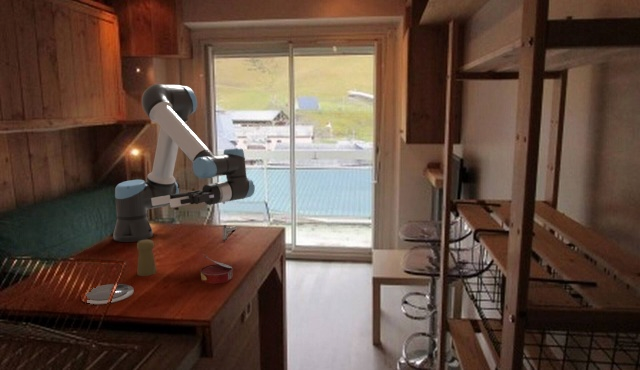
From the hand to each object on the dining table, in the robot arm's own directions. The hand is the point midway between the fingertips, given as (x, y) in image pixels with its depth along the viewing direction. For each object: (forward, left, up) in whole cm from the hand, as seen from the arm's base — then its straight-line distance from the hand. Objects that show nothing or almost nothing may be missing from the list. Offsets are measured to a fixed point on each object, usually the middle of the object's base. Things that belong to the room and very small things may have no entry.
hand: (160, 202), depth 156 cm
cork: (+2, -8, -22) cm, 23 cm away
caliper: (-15, +41, -22) cm, 49 cm away
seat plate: (+10, -25, -22) cm, 34 cm away
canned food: (+23, +4, -22) cm, 32 cm away
